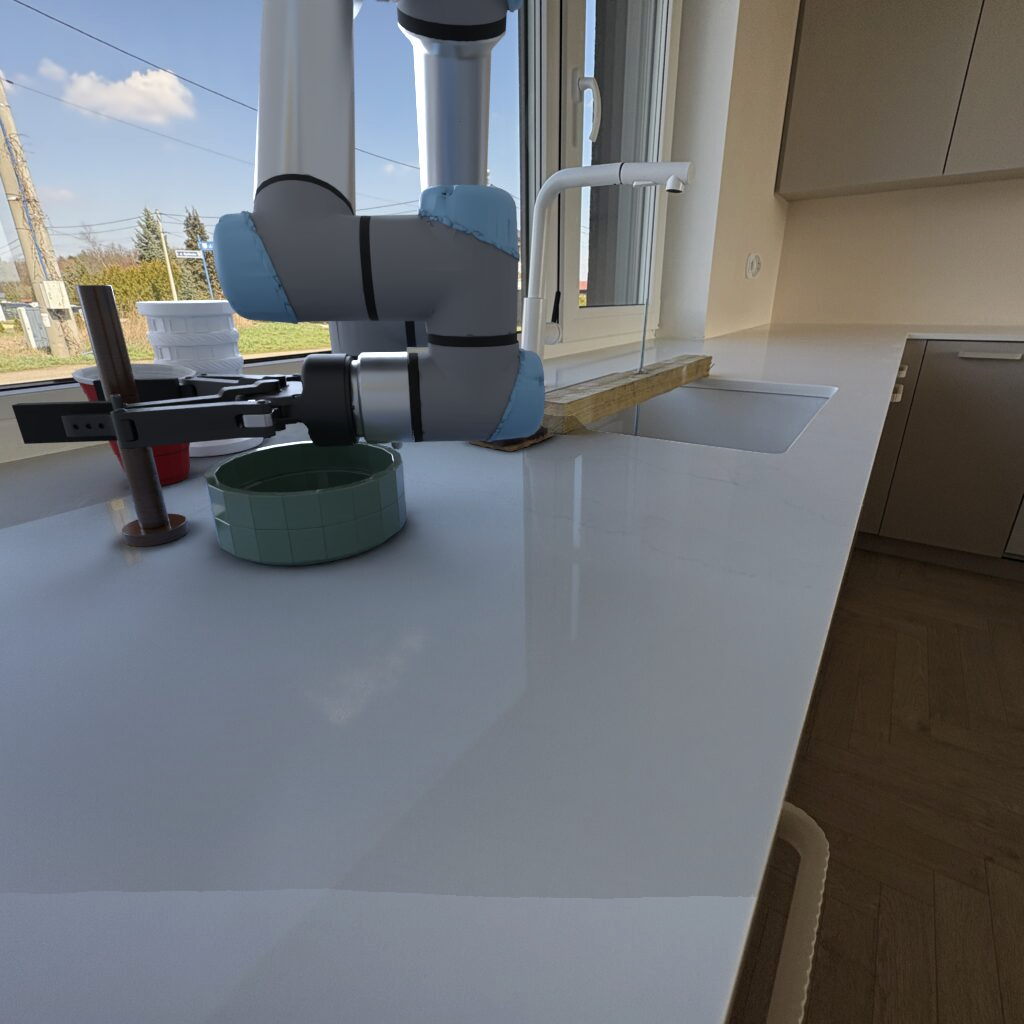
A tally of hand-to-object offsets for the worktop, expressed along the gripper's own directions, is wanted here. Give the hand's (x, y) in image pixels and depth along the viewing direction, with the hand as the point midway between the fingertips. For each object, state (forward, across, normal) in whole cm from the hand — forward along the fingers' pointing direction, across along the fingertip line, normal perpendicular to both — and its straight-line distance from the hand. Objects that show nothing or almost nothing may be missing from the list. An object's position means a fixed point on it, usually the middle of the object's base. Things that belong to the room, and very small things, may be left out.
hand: (64, 408), depth 44 cm
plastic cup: (+1, +16, -11) cm, 20 cm away
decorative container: (0, +30, -11) cm, 32 cm away
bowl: (-18, -1, -11) cm, 21 cm away
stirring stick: (-4, 0, -11) cm, 12 cm away
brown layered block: (-40, +27, -11) cm, 49 cm away
